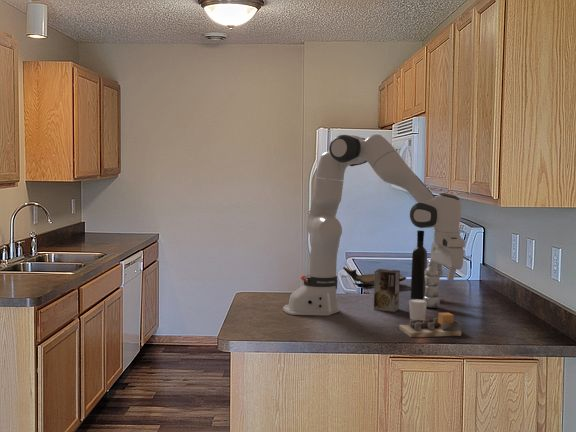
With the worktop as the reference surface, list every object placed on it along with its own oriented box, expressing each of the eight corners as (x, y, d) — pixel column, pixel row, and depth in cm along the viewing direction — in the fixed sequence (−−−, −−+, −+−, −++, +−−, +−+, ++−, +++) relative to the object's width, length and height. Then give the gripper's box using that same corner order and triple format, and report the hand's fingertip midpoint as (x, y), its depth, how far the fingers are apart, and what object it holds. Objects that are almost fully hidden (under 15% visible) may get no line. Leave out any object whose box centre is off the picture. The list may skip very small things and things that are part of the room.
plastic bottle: (439, 309, 277) (441, 261, 275) (422, 308, 278) (424, 260, 277) (439, 306, 283) (441, 259, 282) (422, 305, 285) (424, 258, 283)
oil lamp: (386, 293, 309) (387, 276, 308) (336, 283, 330) (337, 268, 329) (414, 287, 325) (415, 271, 324) (365, 278, 346) (365, 263, 345)
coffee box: (399, 309, 277) (400, 270, 276) (394, 312, 271) (396, 272, 270) (377, 306, 281) (379, 268, 279) (373, 309, 275) (374, 270, 274)
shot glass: (422, 321, 257) (423, 303, 256) (405, 318, 261) (406, 301, 260) (428, 318, 263) (429, 300, 262) (412, 315, 267) (413, 298, 266)
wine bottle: (413, 296, 304) (416, 229, 301) (426, 297, 301) (428, 230, 298) (409, 298, 299) (412, 230, 296) (422, 299, 296) (425, 231, 293)
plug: (414, 330, 238) (414, 316, 238) (409, 327, 242) (410, 313, 242) (453, 328, 241) (453, 315, 241) (448, 326, 245) (448, 312, 245)
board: (410, 337, 234) (410, 325, 234) (398, 329, 245) (399, 318, 245) (462, 335, 238) (462, 324, 238) (449, 327, 249) (449, 316, 249)
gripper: (427, 235, 250) (425, 272, 251) (450, 243, 230) (448, 283, 231) (443, 235, 251) (441, 272, 252) (467, 243, 231) (465, 283, 232)
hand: (444, 277), depth 242 cm, fingers open, 8 cm apart
